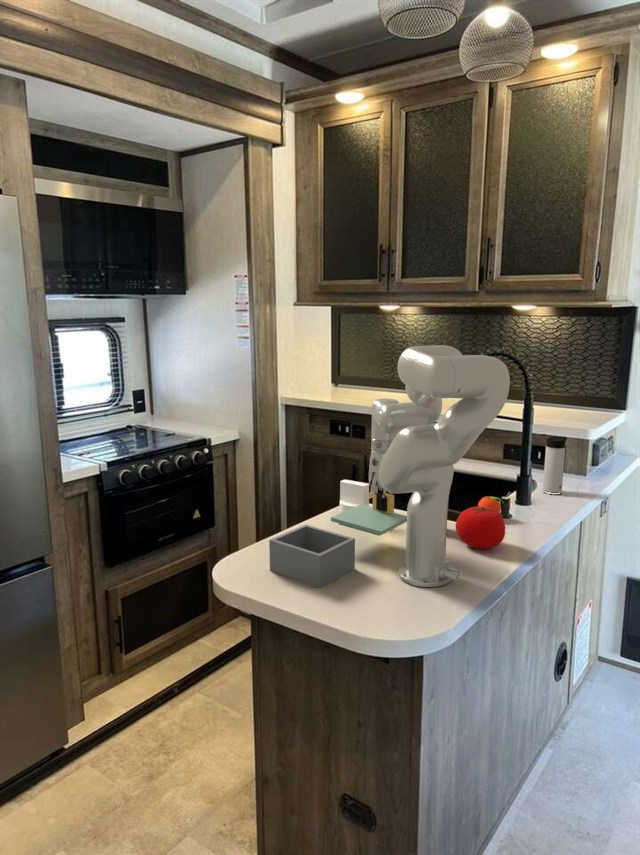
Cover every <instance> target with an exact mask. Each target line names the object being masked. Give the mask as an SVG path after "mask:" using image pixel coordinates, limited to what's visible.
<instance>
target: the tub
mask: <svg viewBox="0 0 640 855" xmlns="http://www.w3.org/2000/svg"><path fill="white" fill-rule="evenodd" d="M268 541H269V544H268V545H269V546H268V547H269V571H272V573H273V572H274V573H276V574H279V575H282V576H284V577H287V578H290V579H293V580H295V581H299V582H301V583H304V584H307V585H309V586H312V587H315V588H317V589H318V588H319V589H321V588H323V587H325V586H326V585H328V584H331V583H332V582H334V581H336V580H337V579H339V578H341V577H342V576H345V575H347V574H348V573H350V572H352V571H354V570H355V569H356V567H355V563H356V538H354V537H351V536H348V535H343V534H341V533H338V532H337V533H336V532H334V531H329V530H327V529H326V530H325V529H323V528H319V527H317V526H316V527H315V526H313V525H308V524H304V525H301V526H299V527H296V528H294V529H292V530H290V531H287V532H285V533H282V534H280V535H278V536H276V537H273V538H271V539H269V540H268Z"/></svg>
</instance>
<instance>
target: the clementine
mask: <svg viewBox="0 0 640 855" xmlns="http://www.w3.org/2000/svg"><path fill="white" fill-rule="evenodd" d="M500 501H501V502H502V503H503V504H505V503H504V501H503V500H502V499H501V498H499V497H496V496H491V495H488V496H487V495H486V496H483V497H482V498H481V499H480V500H479V501H478V505H477V507H482V506H483V507H485V508H490V509H493V510H496V511H497V512H498V513H499V514H500V513H501V511H502V505H501V502H500Z"/></svg>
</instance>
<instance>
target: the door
mask: <svg viewBox="0 0 640 855" xmlns="http://www.w3.org/2000/svg"><path fill="white" fill-rule="evenodd" d="M386 497H387V511H386V512H384V511H380V510H377V509H376V496H375V493H372V506H370V505H369V506H365V505H358V506H356V507H354V508H351V509H349V510H347V511H345V512H342V513H340V512H339V513H338V514H335V515H333V516H332V517H330V522H333V523H337V524H338V525H339V526H344V527H347V528H351V529H353V530H357V531H360V532H365V533H368V534H372V535H376V536H380V537H381V536H382V535H384V534H386V533H388V532H389V531H392V530H393V529H396V528H398V527H400V526H402V525H403V524H405V523H407V515H404V514H401V513H397V512H394V511H395V494H392V495H391V494H387V493H386Z"/></svg>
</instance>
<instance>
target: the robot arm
mask: <svg viewBox="0 0 640 855" xmlns="http://www.w3.org/2000/svg"><path fill="white" fill-rule="evenodd" d="M397 373H398V374H397V375H398V377H399V380H400V381H401V383H403V384H404V385H405V387H404V388H405V392H406V395H407V397H408V398H409V399H410V401H411V402H409V401H408V402H400V401H399V400H397V399H393V398H377V399H375V400H374V401H373V402H372V404H371V405H372V406H371V439H370V440H371V443H370V444H371V445H370V450H371V452H370V457H369V458H370V459H369V464H368V467H369V469H368V484H369V487H370V489H369V493H372V494H373V493H375V496H376V509H377V510H380V511H384V512H386V511H387V497H386V493H387V494H391V495H396V494H406V493H407V494H408V493H412V494H411V496H410V497H409V500H408V503H407V508H406V516H407V522H406V536H405V537H406V538H405V539H406V541H405V564H402V565H401V566H400V567H399V568H398V576H399V578H400V580H402V581H404V582H405V583H407V584H409V585H413V586H416V587H421V588H436V587H437V588H438V587H441V586H445V585H447V584H448V583H450V582H451V581H455V582H459V580H460V570H459V569H457V568H453V567H451V566H450V560H449V559H446V557H447V556H446V554H447V531H448V512H449V511H448V510H449V499H450V498H449V496H450V490H451V486H452V483H453V480H454V479H453V477H454V475H455V474H454V471H455V470H454V469H455V467H454V465H455V464H457V463H458V462H460V460H462V458H463V457H464V456H465V454H466V453H467V452H469V451H468V450H470V448H471V447H472V445H473V444H474V443H475V442H476V441H477V439H478V438H479V436H480V435H481V433H483V432H484V430H485V429H486V428H487V427H488V426H490V424H491V423H492V422H494V420H495V419H496V418H497V417H498V416H499V415H500V413H501V411H502V410H503V408H504V406H505V405H506V403H507V399H508V397H509V391H510V385H511V384H510V382H511V381H510V380H511V378H510V373H509V369H508V367H507V365H506V364H505V363H504V362H503V361H502V360H501V359H499V358H498V357H495V356H492V355H490V356H489V355H484V354H472V355H471V354H464V355H463V354H462V352H461V351H460V350H459V349H457V348H455V347H453V346H450V345H443V344H441V345H438V344H436V345H414V346H409V347H407V348H406V349H405V350H403V352H402V353H401V354H400V356H399V358H398V360H397ZM459 398H461V399H460V400H458V401H456V402H455V403H453V404H452V405H451V406H450V407H449V408H448V409H446V411H445V412H444V414H443V416H442V417H441V418H440V416H441V414H442V410H443V400H442V399H459ZM439 418H440V420H439ZM438 420H439V421H438ZM437 421H438V422H437Z"/></svg>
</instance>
